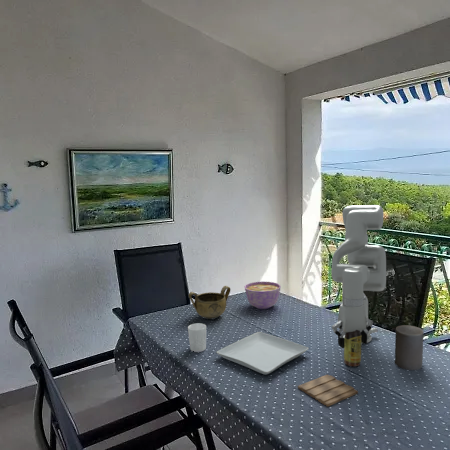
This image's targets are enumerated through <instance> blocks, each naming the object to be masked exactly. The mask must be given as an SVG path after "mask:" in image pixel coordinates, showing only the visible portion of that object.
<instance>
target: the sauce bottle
mask: <svg viewBox="0 0 450 450" xmlns="http://www.w3.org/2000/svg"><path fill="white" fill-rule="evenodd" d="M344 339H345V347H344V348H343V360H344V361H343V362H344V364H345V365H347V366H348V367H358V366H360V365H361V361H362V344H361V340H362V335H361V332H360V330H355V331H353V332H346V334H345V338H344Z"/></svg>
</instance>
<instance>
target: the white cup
mask: <svg viewBox="0 0 450 450" xmlns="http://www.w3.org/2000/svg"><path fill="white" fill-rule="evenodd" d="M187 330H188V331H187V332H188V333H187V334H188V341H189V349H190V351H191V352H193V351H194V352H193V353H200V352H204V351H206V349H207V325H206V324H204V323H201V322H200V323H198V322H197V323H191V324H190V325H188V326H187Z"/></svg>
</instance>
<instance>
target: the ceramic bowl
mask: <svg viewBox="0 0 450 450" xmlns="http://www.w3.org/2000/svg"><path fill="white" fill-rule="evenodd" d="M230 294H231V287H230V286H228V285H224V286H223V287H222V288H221V290H220V292H212V291H211V292H203V293H199V294H196V293H195V292H193V291H190V292H189V293H188V298H189V300H190V302H191V304H192V306H193V307H194V309H195V311H196V313H197V314H198V315H199V316H200V317H202V318H204V319H207V320H208V319H209V320H214V319H216V318H219V317H220V316H222V315H223V314H224V312H225V311H226V308H227V301H228V298H229V295H230ZM193 295H194V299H193V297H192V296H193Z"/></svg>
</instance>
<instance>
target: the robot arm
mask: <svg viewBox="0 0 450 450" xmlns="http://www.w3.org/2000/svg"><path fill="white" fill-rule="evenodd" d="M341 216H342V221H343V226H344V228H345V233H344V234H345V236H344V241H343V242H342V243H341V244H340V245H339V246H337V248H336V250H334V251H335V252H334V253H333V256H332V259H331V261H332V262H331V270H330V271H331V272H330V273H331V278H332V280H333V281H334V282H335V283H341V286H342V287H341V289H342V290H341V292H342V294H341V295H342V296H341V297H342V298H341V299H342V300H341V301H342V303H340V306H339V309H338V314H337V315H338V317H337V322H336V323H334V324H333V325H331V329H332V331H333V333H334V334H335V335H336V336H337V345H338V346H339V347H340V348H342V349H344V347H345V339H344V338H345V334H346V332H353V331H355V330H360V332H361V335H362V340H361V345H362V344H364V345H368V343H370V342H371V341H372V338H373V337H372V334H374V333H378V328H377V327H373V328H372V326H373V324H374V321H373V320H371V319H369V300H368V296H366V294H365V293H364V291H367V292H368V291H369V292H382V291H384V290H385V288H386V286H387V256H386V255H387V254H386V250H385V248H384V247H383V246H382V245H375V244H369V235H368V234H367V231H368V230H369V231H370V230H373V231H375V230H376V231H377V230H378V231H379V230H381V229H382V228H383V224H384V209H383V206H381V205H379V204H371V205H370V204H369V205H367V204H363V205H362V204H361V205H357V204H356V205H347V206H346V207H343V210H342V215H341ZM345 256H347V261H348V263H341V262H340V261H341V260H342V258H343V257H345ZM369 267H370V268H369Z"/></svg>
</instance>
